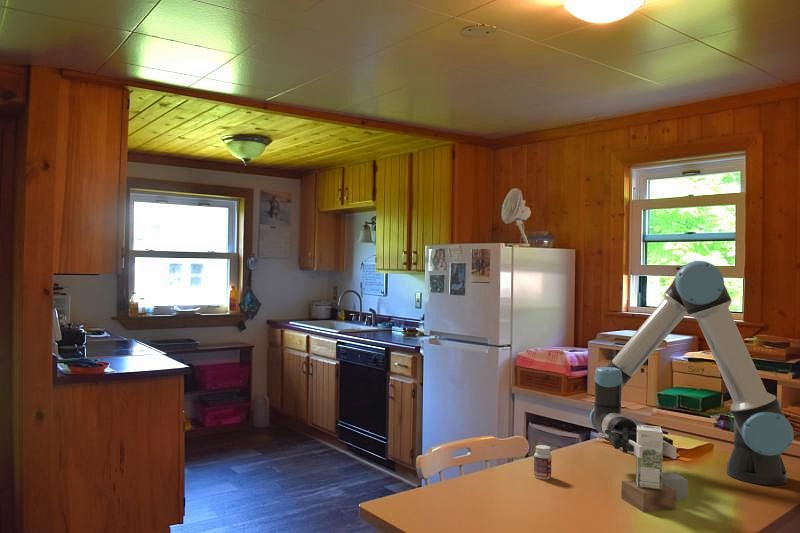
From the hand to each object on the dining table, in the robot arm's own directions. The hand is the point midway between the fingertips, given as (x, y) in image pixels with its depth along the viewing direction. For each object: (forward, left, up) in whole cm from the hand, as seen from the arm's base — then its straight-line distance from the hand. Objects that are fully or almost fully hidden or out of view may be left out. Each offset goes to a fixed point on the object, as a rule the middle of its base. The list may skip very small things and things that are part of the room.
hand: (657, 452), depth 150 cm
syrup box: (0, -5, -10) cm, 11 cm away
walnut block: (0, -5, -14) cm, 15 cm away
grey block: (-9, -12, -14) cm, 21 cm away
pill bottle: (+21, -25, -14) cm, 35 cm away
